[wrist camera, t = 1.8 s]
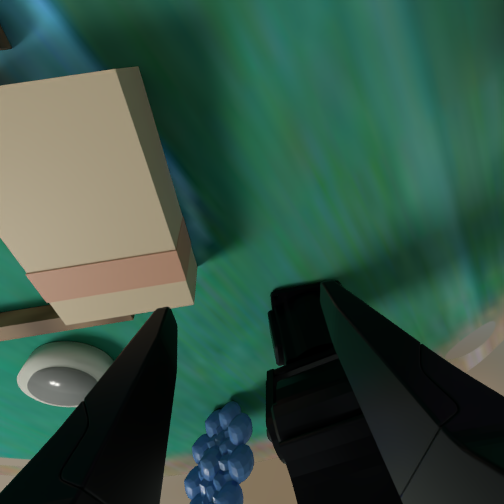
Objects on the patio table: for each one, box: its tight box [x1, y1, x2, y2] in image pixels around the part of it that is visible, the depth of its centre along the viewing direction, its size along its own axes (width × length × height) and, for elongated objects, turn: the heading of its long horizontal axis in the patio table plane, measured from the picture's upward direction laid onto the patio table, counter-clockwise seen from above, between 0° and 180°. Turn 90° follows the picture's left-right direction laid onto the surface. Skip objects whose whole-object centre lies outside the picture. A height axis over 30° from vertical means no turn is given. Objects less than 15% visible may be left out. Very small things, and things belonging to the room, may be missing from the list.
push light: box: [17, 341, 114, 407], centre depth 28 cm, size 8×8×2 cm
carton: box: [0, 67, 197, 325], centre depth 18 cm, size 9×14×5 cm, turn 6°
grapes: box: [184, 401, 254, 504], centre depth 32 cm, size 12×7×12 cm, turn 140°
